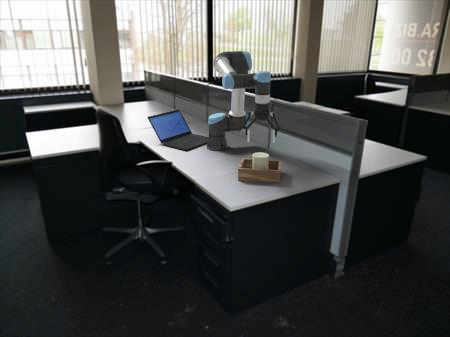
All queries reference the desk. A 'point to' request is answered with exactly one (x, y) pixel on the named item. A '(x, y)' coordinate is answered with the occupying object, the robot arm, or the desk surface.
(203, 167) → the desk surface
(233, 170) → the desk surface
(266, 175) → the walled box
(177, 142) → the laptop
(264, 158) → the can
